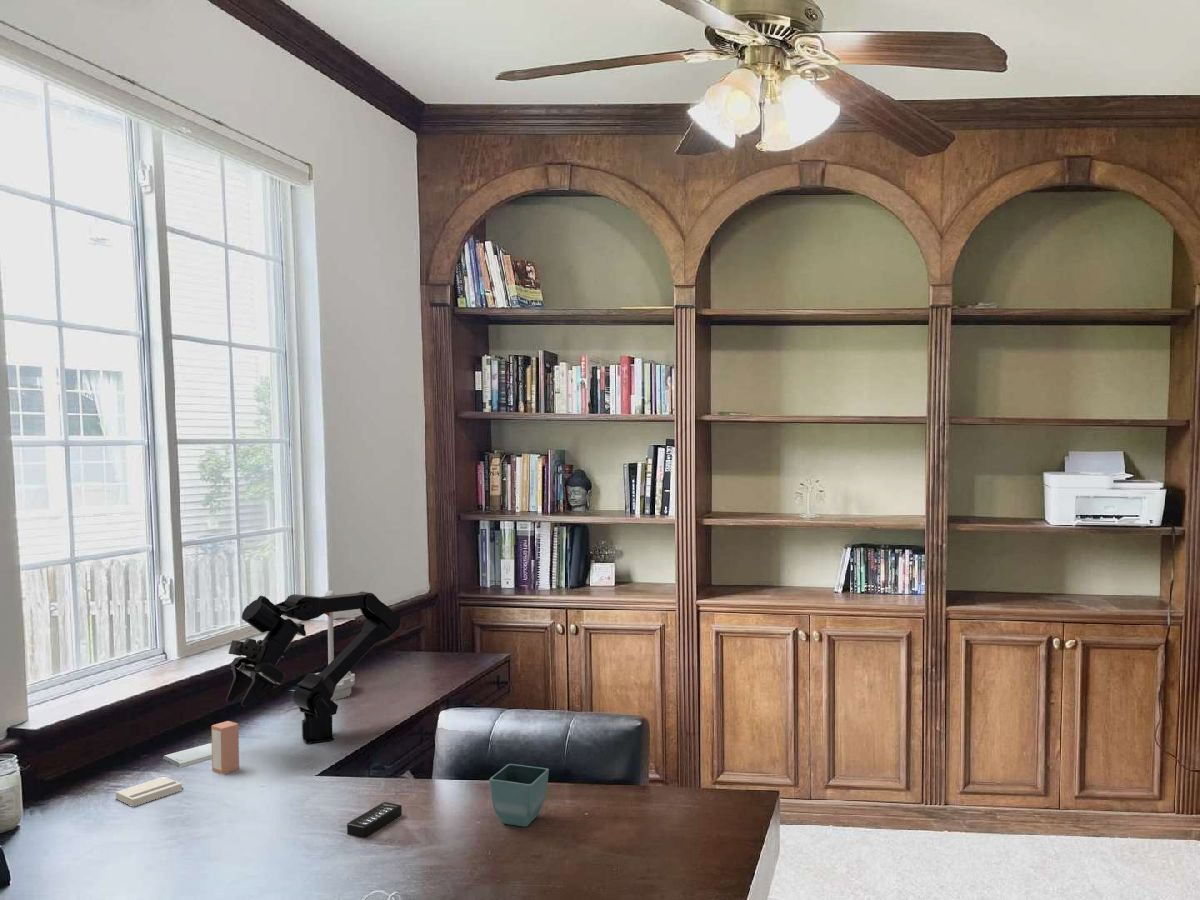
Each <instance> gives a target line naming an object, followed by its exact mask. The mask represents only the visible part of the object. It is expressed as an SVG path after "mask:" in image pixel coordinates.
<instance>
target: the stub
mask: <svg viewBox="0 0 1200 900" xmlns="http://www.w3.org/2000/svg"><path fill="white" fill-rule="evenodd" d="M210 729H211V743H212V759H211V771H213V772H215V773H217V772H218V774H220V773H221V775H225V774H227V772H228V773H231V772H233V771H236V770H237V771H238V770H239V769H240V743H239V742H240V741H239V738H240V737H239V736H240V735H239V723H237V722H234V721H230V720H226V721H222V722H219V723H216V724H213V725H211V728H210ZM224 773H225V774H224Z"/></svg>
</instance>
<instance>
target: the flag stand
mask: <svg viewBox="0 0 1200 900" xmlns="http://www.w3.org/2000/svg"><path fill="white" fill-rule="evenodd" d="M333 595H336V592H335V591H334V590H331V589H330V590H327V591H326V592H325V594H324V596H333ZM324 615H326V616H327V649H328V650H327V659H328V660H327V661H328V662H327V663H328V664H327V666H328V665H329V664H330V663H331V662H332V661H333V660H334V659H335V658H334V657H335V652H334V651H335V647H334V644H335V642H334V612H330V613H325V614H324ZM319 673H320V672H316V673H314V674H316V675H317V674H319ZM355 683H356V676H355V673H352V671H351V670H350V671H349V672H348V673H347V674H346V675H345V676H344V677H343V678H342V679H341V680H340V681H339V682H338V684H337V685H336V687H335V690H334V693H333V696H332V698H331V700H332V701H333V700H334V701H335V700H340V698H341V699H344V697H345V698H347V697H346V696H348V697H349V696H351V695H352V687H353V686H355ZM350 694H351V695H350Z"/></svg>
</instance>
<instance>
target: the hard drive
mask: <svg viewBox="0 0 1200 900" xmlns="http://www.w3.org/2000/svg"><path fill="white" fill-rule="evenodd" d="M162 759H163V760H164V759H165V760H167V761H169V762H170V763H169V762H168V763H169V764H171V763H172V765H173V764H174V765H173V766H175V765H176V766H175V767H177V766H178V767H177V768H179V767H181V768H183V767H187V765H188V766H191V765H194V764H198V763H201V762H205V761H209V760H212V742H211V743H206V744H203V745H199V746H195V747H191V748H188V749H184V750H180V751H175V752H172V753H169V754H166V755H163V757H162ZM165 760H164V761H165ZM167 761H166V762H167Z"/></svg>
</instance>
